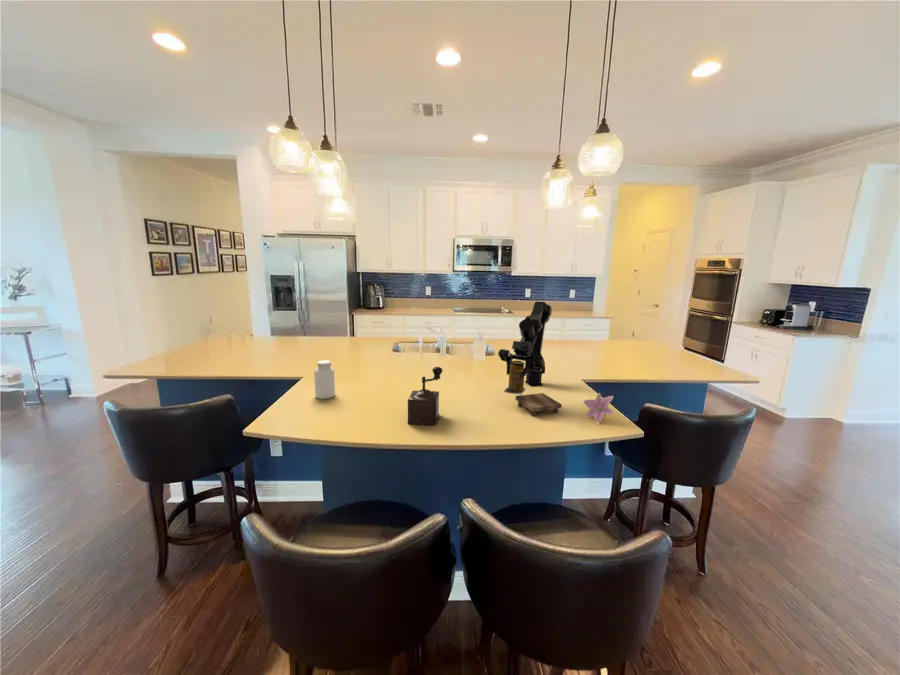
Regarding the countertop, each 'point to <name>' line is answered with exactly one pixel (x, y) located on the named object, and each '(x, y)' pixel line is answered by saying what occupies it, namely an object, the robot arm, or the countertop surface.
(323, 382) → the pill bottle
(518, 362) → the condiment
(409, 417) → the manual coffee grinder
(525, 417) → the countertop surface
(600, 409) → the lily
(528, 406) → the stool
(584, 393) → the countertop surface
